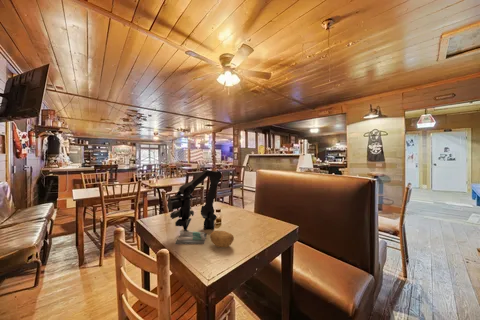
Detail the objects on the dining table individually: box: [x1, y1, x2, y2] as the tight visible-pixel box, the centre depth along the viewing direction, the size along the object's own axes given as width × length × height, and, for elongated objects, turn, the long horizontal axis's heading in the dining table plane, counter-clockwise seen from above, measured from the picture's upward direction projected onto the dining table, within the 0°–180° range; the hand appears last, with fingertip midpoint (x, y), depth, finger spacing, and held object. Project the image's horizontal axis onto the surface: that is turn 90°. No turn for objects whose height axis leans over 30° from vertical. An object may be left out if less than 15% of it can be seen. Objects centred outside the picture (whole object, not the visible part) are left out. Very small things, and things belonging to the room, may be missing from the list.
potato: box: [209, 230, 235, 249], centre depth 102 cm, size 10×14×8 cm
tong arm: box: [179, 229, 206, 237], centre depth 109 cm, size 16×2×2 cm, turn 74°
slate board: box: [174, 233, 208, 245], centre depth 109 cm, size 16×11×2 cm
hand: (185, 231), depth 113 cm, fingers closed
